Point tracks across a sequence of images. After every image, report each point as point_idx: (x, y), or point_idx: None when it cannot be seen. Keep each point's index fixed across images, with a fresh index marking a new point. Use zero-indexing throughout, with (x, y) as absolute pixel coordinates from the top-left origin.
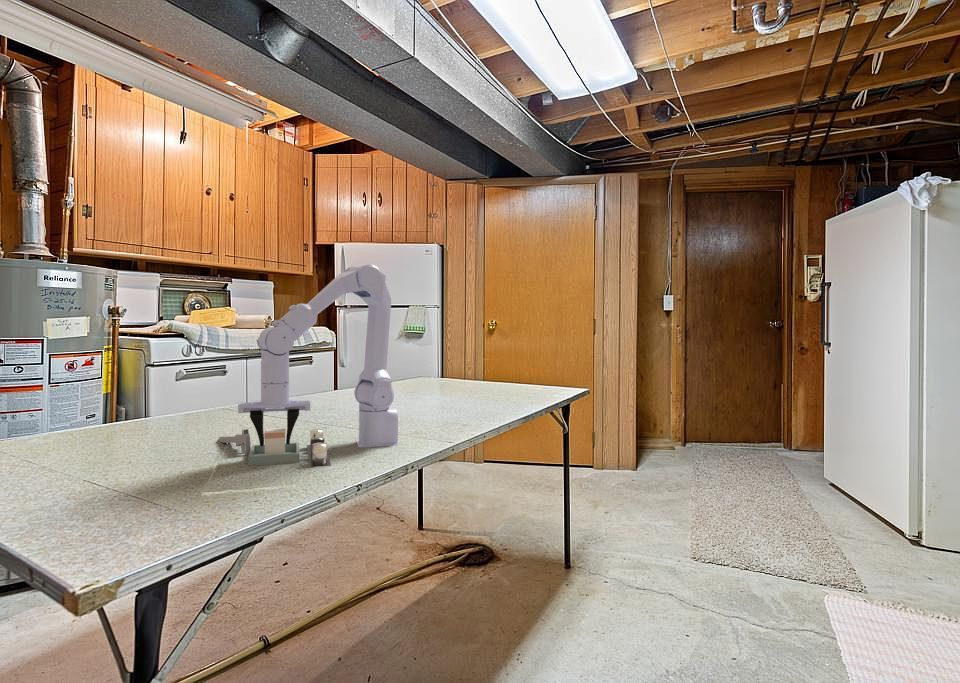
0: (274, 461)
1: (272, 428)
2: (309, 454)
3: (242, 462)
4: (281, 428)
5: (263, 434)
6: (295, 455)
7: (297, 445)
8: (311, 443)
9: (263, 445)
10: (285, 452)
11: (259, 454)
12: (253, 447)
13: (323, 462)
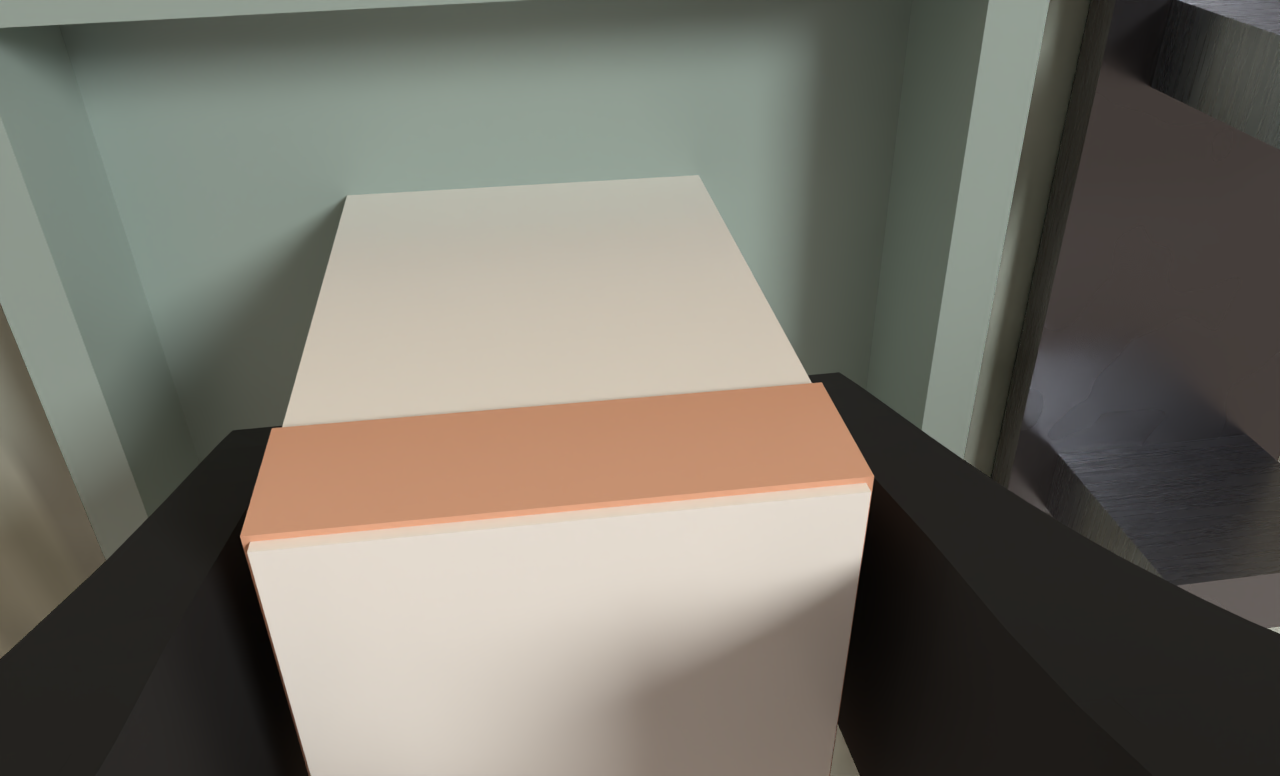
0: None
1: (468, 534)
2: (1085, 257)
3: (14, 387)
4: (754, 556)
5: (247, 586)
6: None
7: (979, 205)
8: (1273, 141)
9: None
10: (704, 31)
11: (188, 88)
12: (20, 213)
13: None
